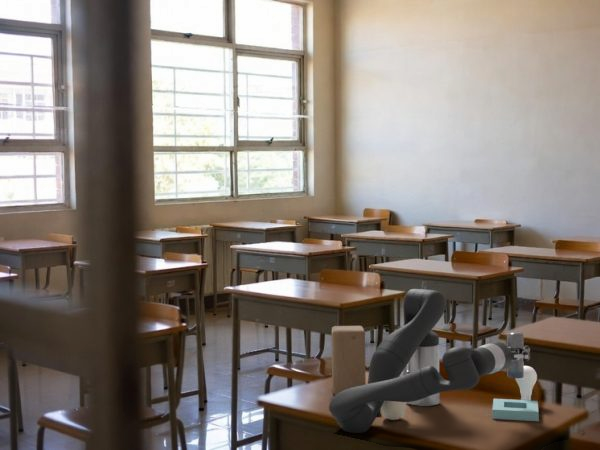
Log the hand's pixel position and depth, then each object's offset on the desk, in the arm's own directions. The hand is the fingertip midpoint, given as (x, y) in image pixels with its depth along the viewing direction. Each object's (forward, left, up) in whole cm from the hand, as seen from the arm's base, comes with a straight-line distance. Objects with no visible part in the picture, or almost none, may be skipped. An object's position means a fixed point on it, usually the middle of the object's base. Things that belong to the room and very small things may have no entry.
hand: (519, 348), depth 221 cm
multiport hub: (-41, -7, -18) cm, 45 cm away
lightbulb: (+2, +10, -18) cm, 20 cm away
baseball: (-33, -14, -18) cm, 40 cm away
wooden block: (-51, +13, -18) cm, 56 cm away
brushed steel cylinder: (-1, -2, -7) cm, 8 cm away
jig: (-1, -2, -18) cm, 18 cm away
